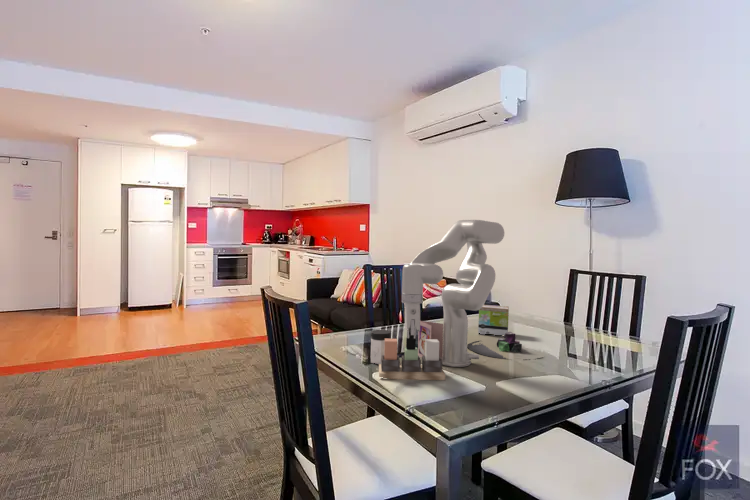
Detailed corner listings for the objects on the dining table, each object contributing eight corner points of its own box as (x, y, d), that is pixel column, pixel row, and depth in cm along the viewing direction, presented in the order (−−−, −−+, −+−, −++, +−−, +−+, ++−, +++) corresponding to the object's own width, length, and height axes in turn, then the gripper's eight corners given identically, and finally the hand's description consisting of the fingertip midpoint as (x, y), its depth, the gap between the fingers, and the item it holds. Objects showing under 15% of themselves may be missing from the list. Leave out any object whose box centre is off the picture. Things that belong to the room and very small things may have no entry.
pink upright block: (396, 357, 157) (396, 338, 157) (396, 361, 152) (397, 341, 152) (384, 357, 157) (384, 338, 157) (384, 360, 152) (384, 341, 152)
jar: (365, 362, 169) (366, 332, 169) (375, 357, 176) (376, 328, 176) (385, 365, 165) (386, 335, 165) (395, 360, 172) (395, 331, 172)
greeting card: (416, 355, 181) (416, 320, 181) (431, 354, 184) (432, 319, 183) (428, 363, 170) (429, 325, 170) (444, 361, 173) (445, 324, 172)
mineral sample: (555, 363, 174) (555, 340, 174) (467, 356, 181) (467, 334, 181) (539, 348, 208) (540, 329, 208) (466, 342, 215) (466, 324, 215)
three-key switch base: (440, 370, 160) (440, 354, 160) (445, 380, 149) (445, 363, 149) (378, 369, 160) (379, 353, 160) (379, 379, 149) (379, 361, 149)
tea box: (477, 334, 224) (478, 306, 223) (479, 330, 233) (479, 303, 233) (507, 337, 219) (508, 308, 219) (507, 333, 229) (508, 305, 228)
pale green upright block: (416, 366, 157) (416, 347, 157) (417, 370, 153) (418, 350, 152) (404, 366, 157) (404, 347, 157) (405, 369, 153) (405, 350, 152)
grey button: (436, 358, 157) (437, 339, 157) (438, 361, 153) (439, 342, 152) (424, 358, 157) (425, 339, 157) (426, 361, 153) (426, 342, 152)
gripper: (425, 301, 147) (423, 354, 147) (420, 296, 162) (418, 344, 162) (403, 301, 147) (401, 354, 147) (400, 295, 162) (399, 343, 162)
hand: (410, 349), depth 154 cm, fingers closed
